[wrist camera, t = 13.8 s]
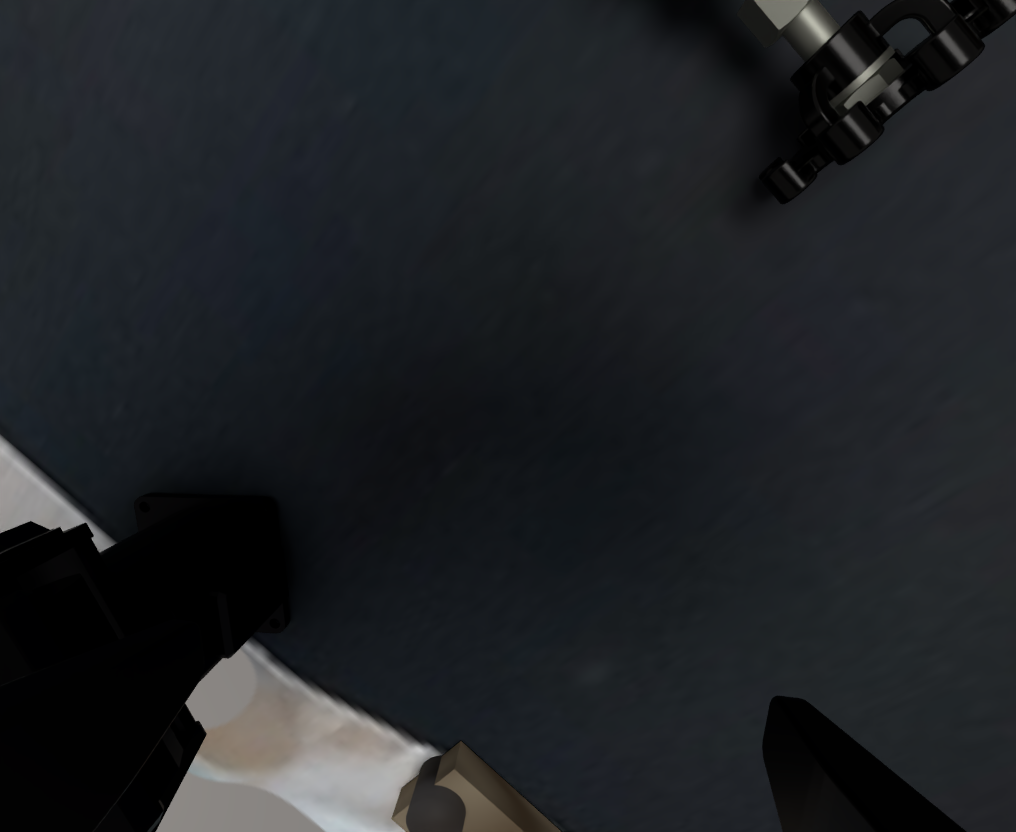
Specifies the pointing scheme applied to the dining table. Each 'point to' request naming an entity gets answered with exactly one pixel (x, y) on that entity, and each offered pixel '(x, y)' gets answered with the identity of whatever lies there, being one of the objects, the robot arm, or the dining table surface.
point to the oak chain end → (464, 799)
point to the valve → (862, 71)
